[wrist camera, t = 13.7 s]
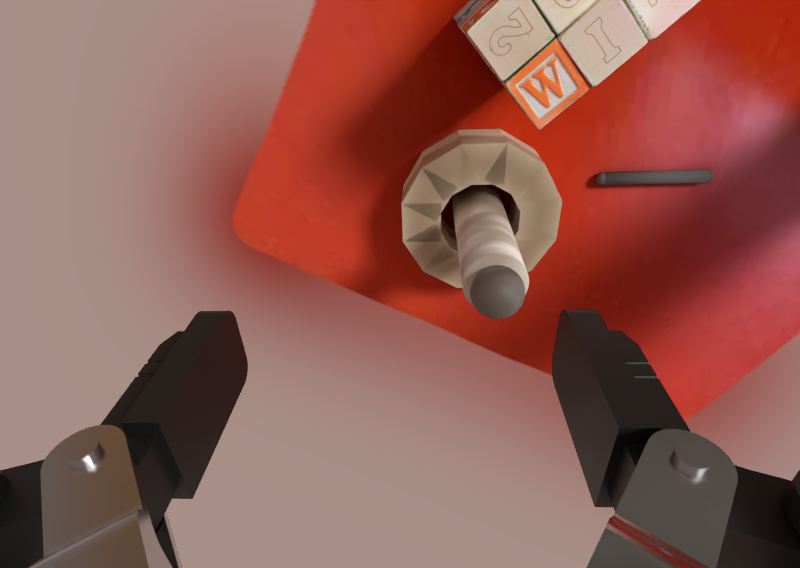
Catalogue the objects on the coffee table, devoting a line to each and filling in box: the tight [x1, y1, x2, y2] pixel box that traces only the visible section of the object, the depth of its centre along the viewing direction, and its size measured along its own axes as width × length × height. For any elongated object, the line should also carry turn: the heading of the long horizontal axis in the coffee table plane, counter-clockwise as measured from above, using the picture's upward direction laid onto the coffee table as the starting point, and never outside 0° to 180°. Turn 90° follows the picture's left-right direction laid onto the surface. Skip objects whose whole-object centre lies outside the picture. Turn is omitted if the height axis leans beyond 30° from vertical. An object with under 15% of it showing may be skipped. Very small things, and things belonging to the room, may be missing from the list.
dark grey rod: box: [596, 170, 714, 185], centre depth 37 cm, size 9×1×1 cm, turn 92°
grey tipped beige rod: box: [452, 184, 529, 319], centre depth 33 cm, size 4×4×15 cm
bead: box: [401, 129, 562, 288], centre depth 38 cm, size 12×12×4 cm
